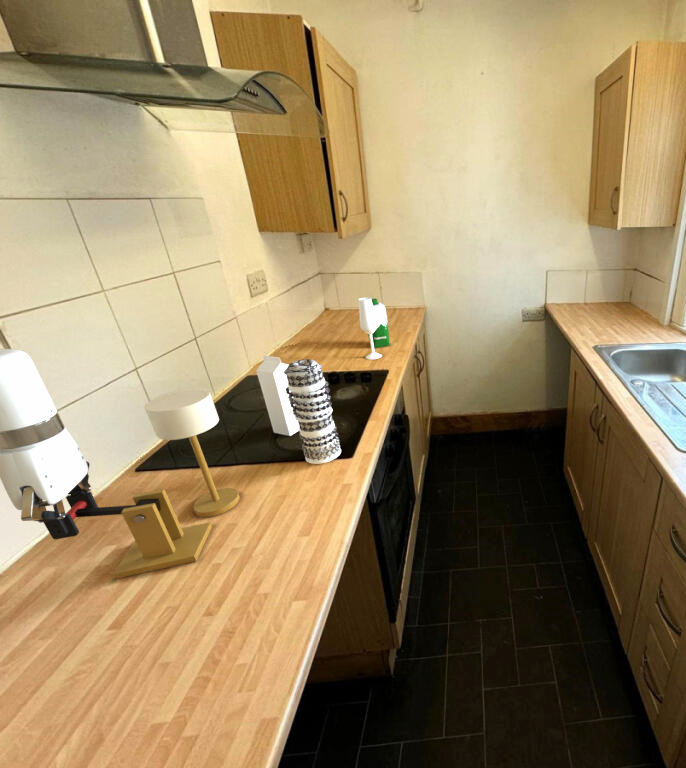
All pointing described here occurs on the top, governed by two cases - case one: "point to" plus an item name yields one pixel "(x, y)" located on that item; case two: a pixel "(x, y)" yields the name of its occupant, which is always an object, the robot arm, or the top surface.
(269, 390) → the milk
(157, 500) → the switch lever
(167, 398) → the table lamp
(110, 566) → the top surface
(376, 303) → the milk carton
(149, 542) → the switch bracket
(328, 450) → the decorative candle
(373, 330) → the champagne flute
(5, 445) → the robot arm
